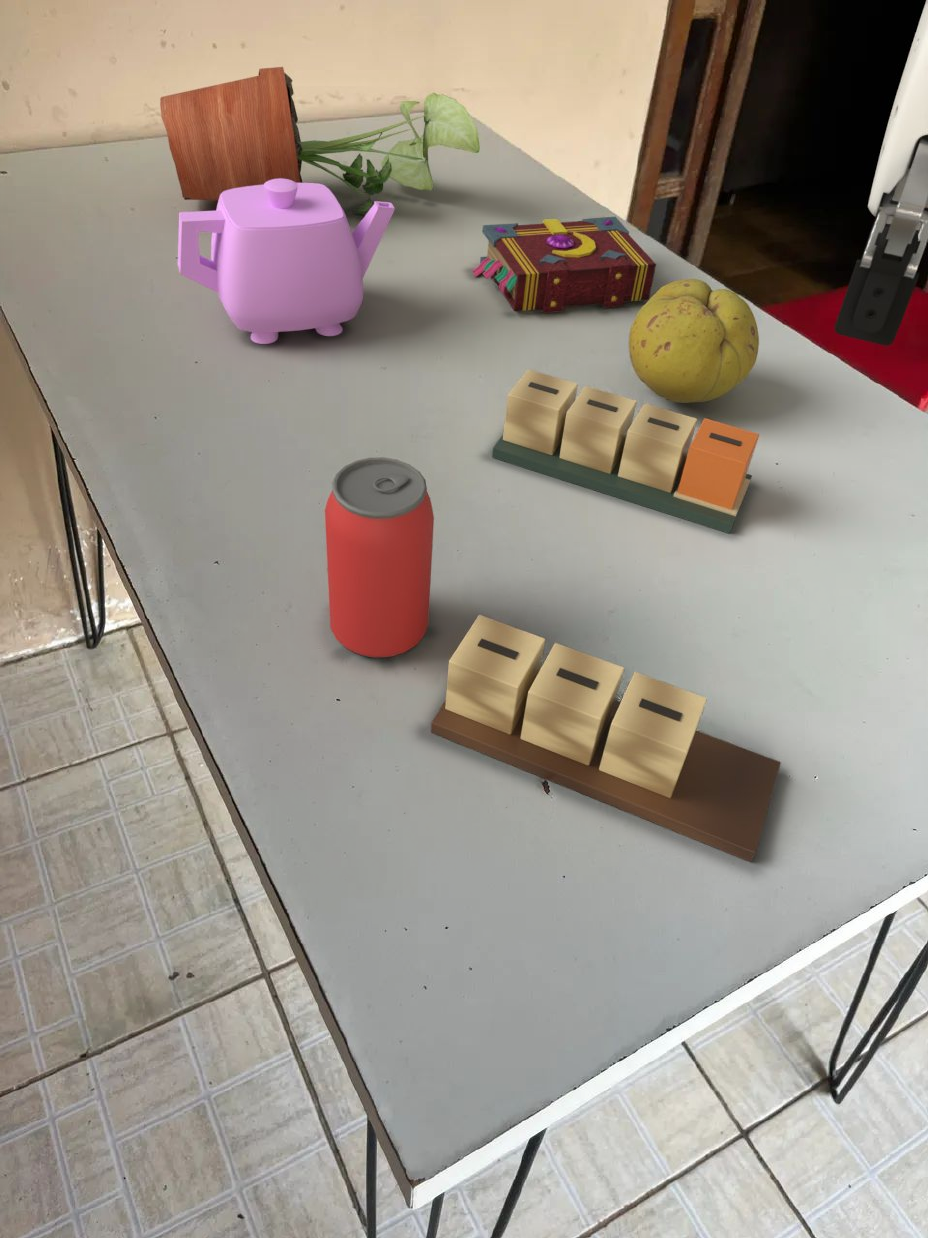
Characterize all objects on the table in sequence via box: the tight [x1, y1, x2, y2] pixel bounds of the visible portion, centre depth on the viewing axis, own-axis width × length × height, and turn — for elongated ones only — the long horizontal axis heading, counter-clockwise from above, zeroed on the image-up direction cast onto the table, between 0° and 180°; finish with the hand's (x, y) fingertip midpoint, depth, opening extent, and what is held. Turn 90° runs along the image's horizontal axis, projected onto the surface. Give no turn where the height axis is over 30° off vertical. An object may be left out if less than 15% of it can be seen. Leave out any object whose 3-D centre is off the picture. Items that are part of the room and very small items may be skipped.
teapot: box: [177, 178, 395, 345], centre depth 90 cm, size 20×12×13 cm, turn 110°
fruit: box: [628, 278, 760, 404], centre depth 85 cm, size 11×12×10 cm
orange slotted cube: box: [678, 417, 760, 509], centre depth 76 cm, size 4×4×4 cm
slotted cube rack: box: [491, 369, 753, 534], centre depth 78 cm, size 20×7×6 cm, turn 65°
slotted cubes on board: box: [430, 614, 782, 862], centre depth 58 cm, size 20×7×6 cm, turn 65°
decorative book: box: [471, 216, 657, 314], centre depth 101 cm, size 11×16×5 cm
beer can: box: [324, 456, 435, 659], centre depth 62 cm, size 7×7×12 cm
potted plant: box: [159, 66, 481, 216], centre depth 109 cm, size 16×15×35 cm
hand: (874, 302), depth 57 cm, fingers open, 9 cm apart
